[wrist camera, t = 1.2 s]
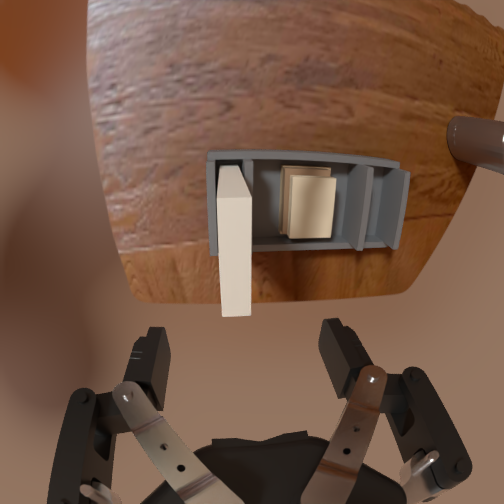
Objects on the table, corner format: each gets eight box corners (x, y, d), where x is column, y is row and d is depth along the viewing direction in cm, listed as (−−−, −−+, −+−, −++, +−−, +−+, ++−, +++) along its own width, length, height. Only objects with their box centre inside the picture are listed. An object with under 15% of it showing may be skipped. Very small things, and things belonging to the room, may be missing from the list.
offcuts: (327, 166, 38) (339, 170, 34) (321, 229, 42) (332, 240, 38) (280, 164, 37) (287, 168, 33) (278, 230, 42) (284, 242, 37)
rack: (386, 158, 39) (411, 165, 33) (375, 238, 45) (396, 255, 39) (209, 150, 36) (205, 154, 30) (212, 242, 42) (210, 262, 36)
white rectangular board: (237, 164, 37) (251, 197, 19) (238, 231, 41) (250, 315, 23) (220, 164, 37) (216, 198, 18) (221, 232, 41) (222, 316, 23)
